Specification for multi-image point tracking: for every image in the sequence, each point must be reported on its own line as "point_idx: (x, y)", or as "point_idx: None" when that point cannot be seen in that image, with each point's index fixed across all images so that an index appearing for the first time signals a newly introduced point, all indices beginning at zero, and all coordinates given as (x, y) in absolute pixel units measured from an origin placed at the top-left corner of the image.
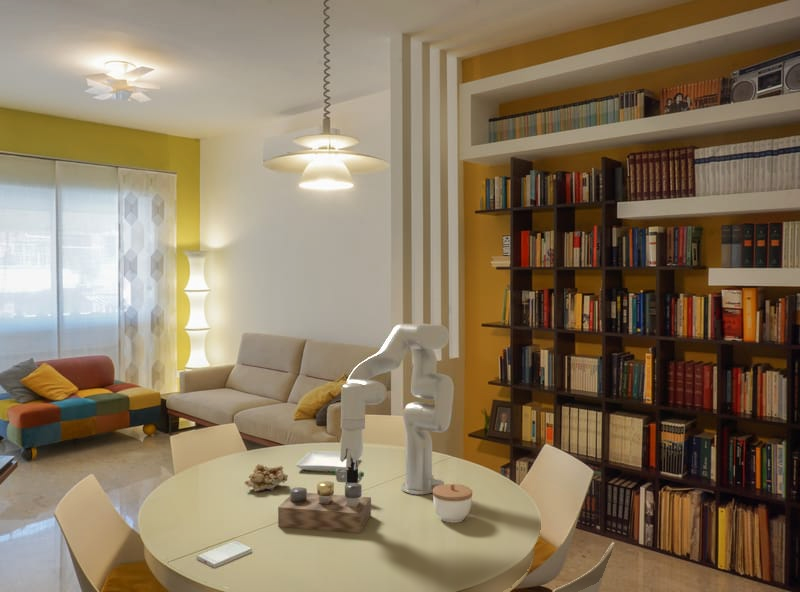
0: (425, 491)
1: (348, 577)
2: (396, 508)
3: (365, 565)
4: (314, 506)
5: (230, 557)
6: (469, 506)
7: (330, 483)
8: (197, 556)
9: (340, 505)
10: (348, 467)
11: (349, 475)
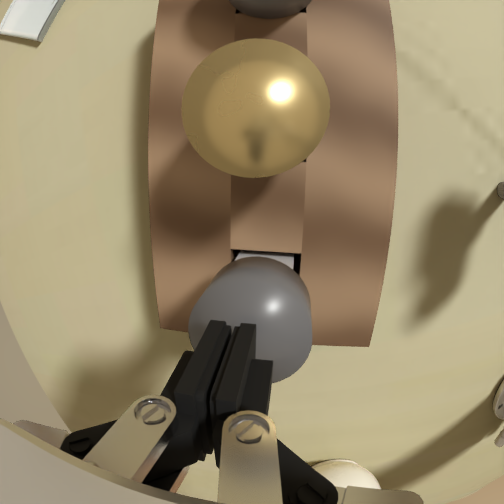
0: (495, 410)
1: (10, 294)
2: (418, 368)
3: (47, 322)
4: None
5: (11, 34)
6: None
7: (275, 143)
8: None
9: (232, 222)
10: (95, 432)
11: (172, 378)
